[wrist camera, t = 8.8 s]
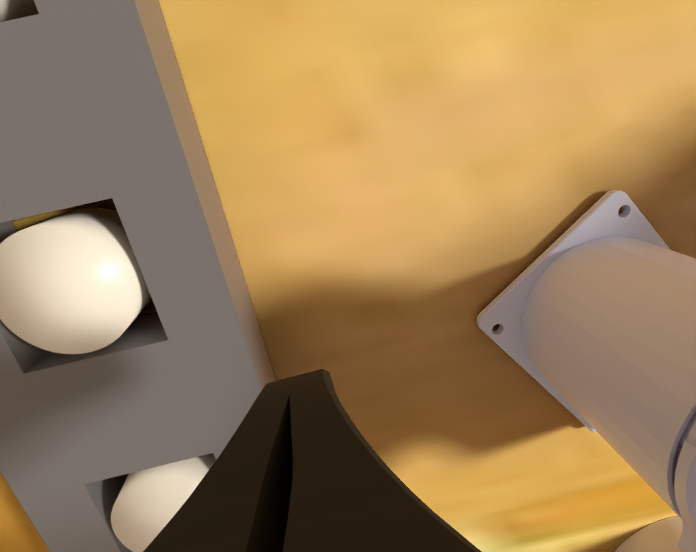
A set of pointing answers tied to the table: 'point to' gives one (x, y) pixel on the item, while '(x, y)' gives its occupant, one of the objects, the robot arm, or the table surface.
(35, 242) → the button mid
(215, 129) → the table surface
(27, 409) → the control strip
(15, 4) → the button
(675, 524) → the cup
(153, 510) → the button
